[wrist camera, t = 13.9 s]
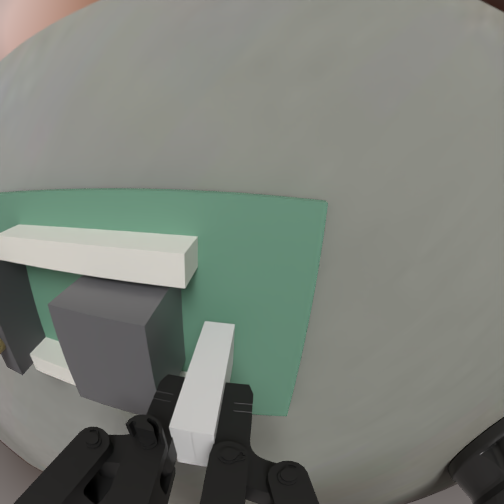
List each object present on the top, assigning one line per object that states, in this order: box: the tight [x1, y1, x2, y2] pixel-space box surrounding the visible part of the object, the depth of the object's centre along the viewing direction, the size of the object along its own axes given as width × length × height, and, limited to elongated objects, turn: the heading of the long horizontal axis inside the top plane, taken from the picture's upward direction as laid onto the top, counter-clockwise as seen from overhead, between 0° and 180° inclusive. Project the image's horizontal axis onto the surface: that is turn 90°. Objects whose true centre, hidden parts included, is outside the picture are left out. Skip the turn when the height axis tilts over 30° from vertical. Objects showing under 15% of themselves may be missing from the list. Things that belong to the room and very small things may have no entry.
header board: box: [0, 188, 328, 416], centre depth 13 cm, size 15×22×8 cm
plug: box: [48, 275, 186, 415], centre depth 13 cm, size 6×5×5 cm
